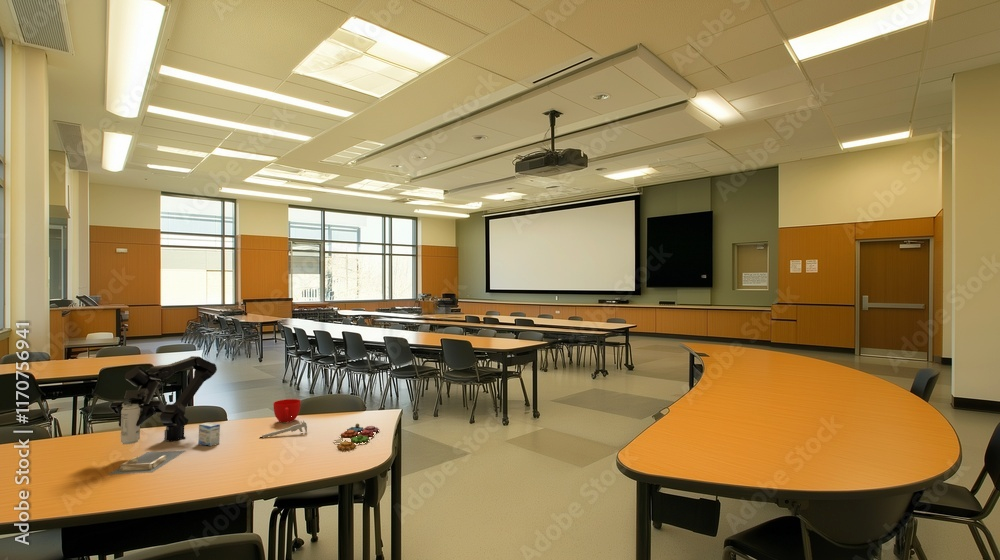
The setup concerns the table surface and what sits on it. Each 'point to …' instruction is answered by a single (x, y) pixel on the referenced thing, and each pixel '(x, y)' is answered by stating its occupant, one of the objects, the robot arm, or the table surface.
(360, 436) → the gear puzzle
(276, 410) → the ceramic cup
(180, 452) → the mat
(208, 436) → the medicine box
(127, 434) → the energy drink can
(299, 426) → the caliper
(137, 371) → the robot arm
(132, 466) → the pocket
